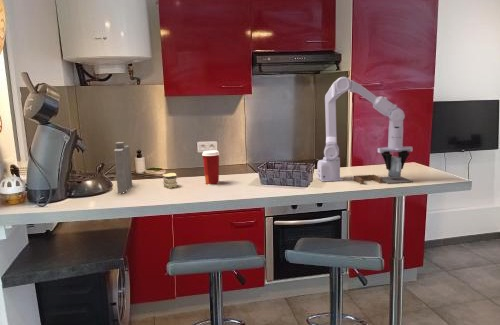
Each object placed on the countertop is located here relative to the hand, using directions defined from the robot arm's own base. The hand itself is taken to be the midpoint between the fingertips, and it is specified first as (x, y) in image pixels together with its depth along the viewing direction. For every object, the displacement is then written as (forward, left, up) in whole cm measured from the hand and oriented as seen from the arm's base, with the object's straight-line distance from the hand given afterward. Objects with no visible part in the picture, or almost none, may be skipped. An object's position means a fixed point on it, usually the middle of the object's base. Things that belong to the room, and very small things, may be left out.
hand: (394, 169), depth 172 cm
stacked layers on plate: (-94, +13, -6) cm, 95 cm away
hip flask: (-113, +13, -5) cm, 114 cm away
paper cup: (-76, +15, -5) cm, 78 cm away
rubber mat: (0, 0, -5) cm, 5 cm away
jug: (0, -1, -3) cm, 3 cm away
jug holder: (-11, 0, -5) cm, 13 cm away
